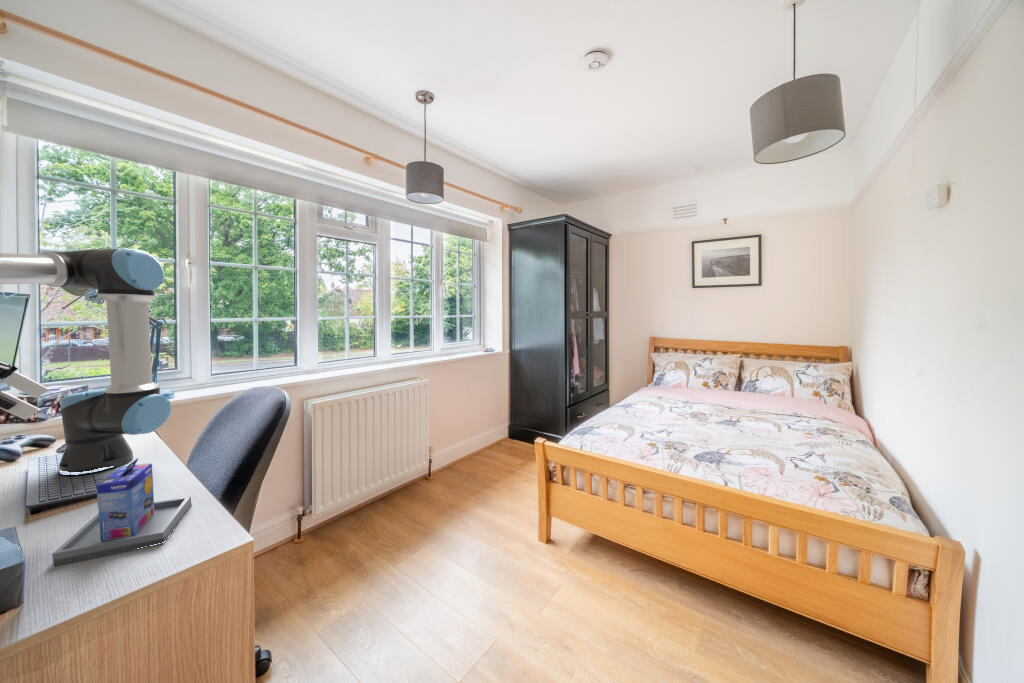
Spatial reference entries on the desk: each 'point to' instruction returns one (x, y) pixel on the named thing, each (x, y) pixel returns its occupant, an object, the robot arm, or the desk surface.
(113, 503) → the ink cartridge box
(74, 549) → the dock tray
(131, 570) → the desk surface
